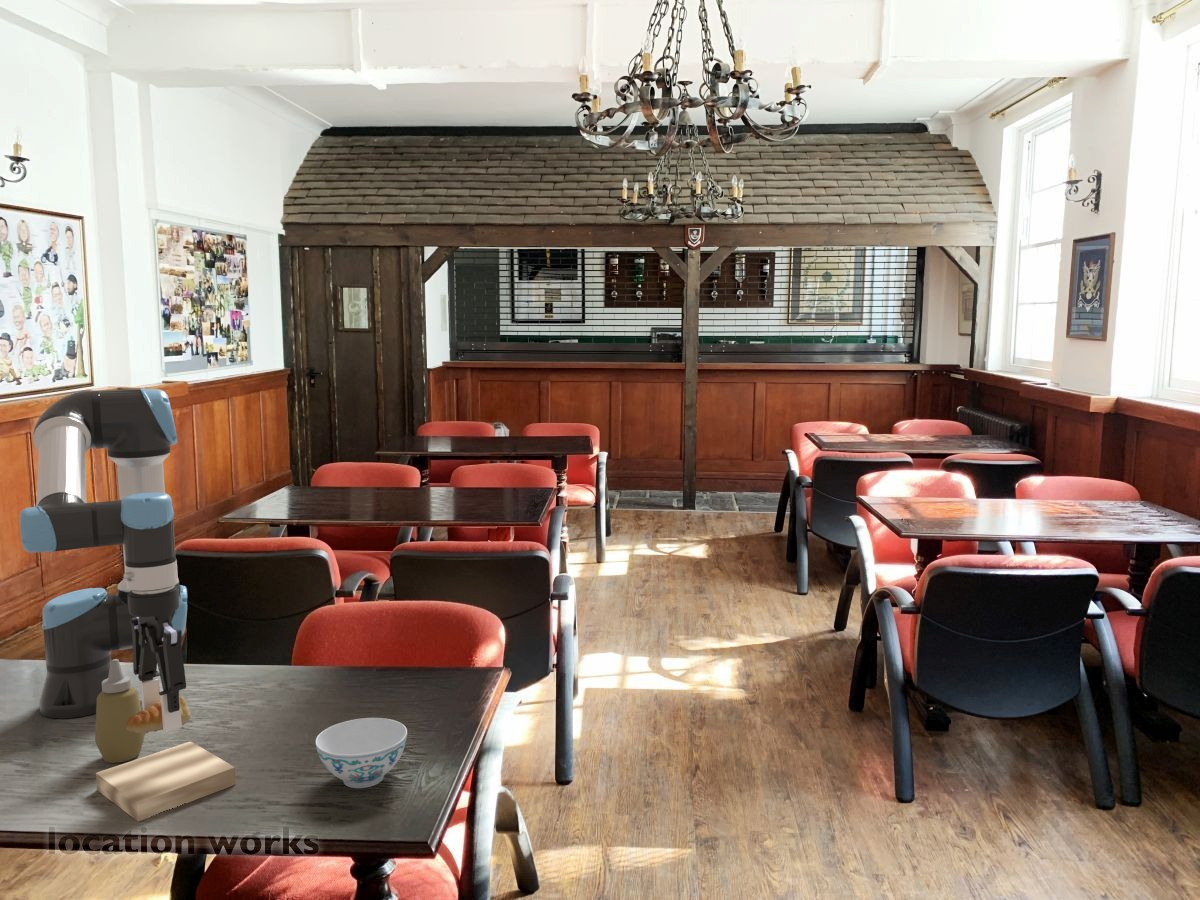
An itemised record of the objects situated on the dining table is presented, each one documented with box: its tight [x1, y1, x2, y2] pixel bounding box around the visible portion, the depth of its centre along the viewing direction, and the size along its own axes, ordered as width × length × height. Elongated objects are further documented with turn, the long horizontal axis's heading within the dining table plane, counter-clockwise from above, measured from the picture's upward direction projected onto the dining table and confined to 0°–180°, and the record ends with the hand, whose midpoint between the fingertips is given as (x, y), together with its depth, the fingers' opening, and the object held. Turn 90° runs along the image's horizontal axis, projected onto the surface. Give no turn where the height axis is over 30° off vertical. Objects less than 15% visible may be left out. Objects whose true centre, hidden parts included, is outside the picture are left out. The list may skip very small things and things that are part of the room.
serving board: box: [95, 740, 237, 822], centre depth 156 cm, size 16×16×3 cm
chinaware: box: [315, 717, 408, 789], centre depth 158 cm, size 15×15×8 cm
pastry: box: [126, 696, 192, 734], centre depth 155 cm, size 9×7×4 cm
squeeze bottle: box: [94, 658, 147, 764], centre depth 167 cm, size 8×8×18 cm
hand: (162, 723), depth 155 cm, fingers closed on pastry, 7 cm apart
